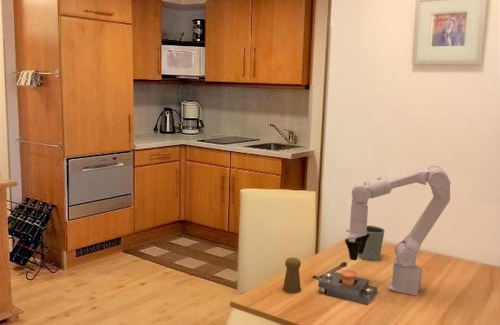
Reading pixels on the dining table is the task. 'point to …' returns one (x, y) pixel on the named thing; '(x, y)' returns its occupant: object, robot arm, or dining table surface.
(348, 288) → the link upper
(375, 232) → the green cup
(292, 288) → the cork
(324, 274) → the tomahawk
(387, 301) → the dining table surface
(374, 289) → the link lower
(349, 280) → the pin
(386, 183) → the robot arm
